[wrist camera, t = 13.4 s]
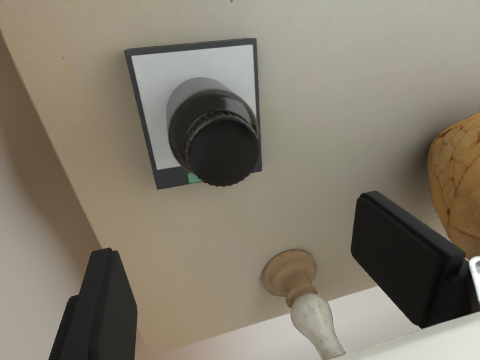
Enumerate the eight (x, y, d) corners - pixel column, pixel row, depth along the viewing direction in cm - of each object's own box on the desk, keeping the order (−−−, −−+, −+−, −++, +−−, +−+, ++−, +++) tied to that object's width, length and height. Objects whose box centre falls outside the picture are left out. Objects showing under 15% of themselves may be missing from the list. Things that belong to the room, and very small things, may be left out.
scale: (157, 179, 34) (157, 191, 31) (127, 48, 27) (123, 50, 25) (256, 163, 36) (263, 172, 34) (249, 37, 30) (257, 38, 27)
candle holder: (310, 241, 44) (410, 379, 27) (316, 280, 48) (405, 421, 31) (256, 260, 43) (321, 416, 26) (267, 298, 48) (329, 455, 30)
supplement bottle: (242, 131, 31) (285, 181, 20) (181, 154, 30) (192, 217, 20) (222, 65, 27) (261, 83, 17) (153, 89, 27) (149, 124, 16)
